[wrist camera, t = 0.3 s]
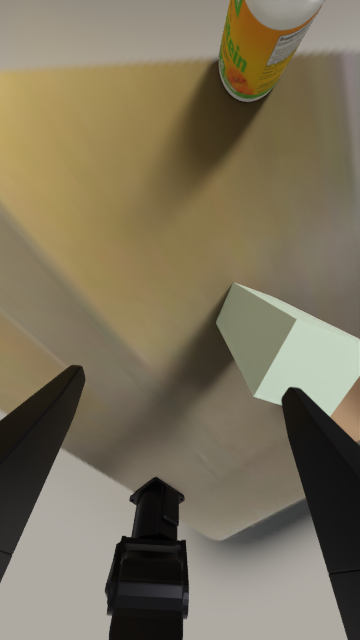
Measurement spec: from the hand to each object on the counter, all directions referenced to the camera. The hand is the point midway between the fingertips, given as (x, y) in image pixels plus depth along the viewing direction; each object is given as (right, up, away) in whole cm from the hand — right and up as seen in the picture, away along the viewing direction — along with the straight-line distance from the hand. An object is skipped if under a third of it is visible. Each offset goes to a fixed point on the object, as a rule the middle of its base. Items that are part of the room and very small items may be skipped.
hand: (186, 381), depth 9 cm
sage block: (+7, +4, +15) cm, 17 cm away
